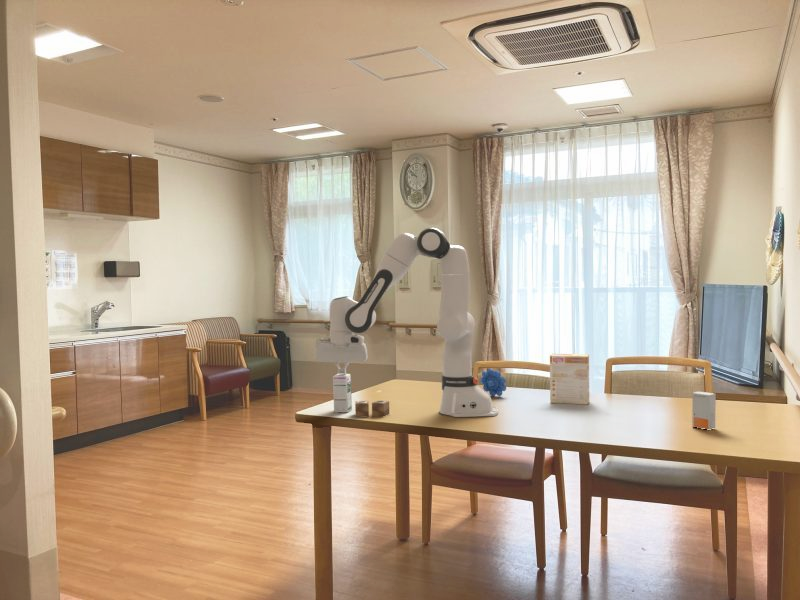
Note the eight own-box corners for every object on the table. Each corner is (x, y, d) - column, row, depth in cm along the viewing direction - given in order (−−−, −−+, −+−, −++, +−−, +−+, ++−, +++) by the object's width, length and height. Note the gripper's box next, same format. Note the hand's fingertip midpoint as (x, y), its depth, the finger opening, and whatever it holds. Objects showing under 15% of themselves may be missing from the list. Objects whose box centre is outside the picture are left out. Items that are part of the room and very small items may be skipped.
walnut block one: (368, 413, 250) (368, 400, 249) (368, 416, 245) (368, 402, 244) (355, 414, 249) (355, 400, 249) (355, 417, 244) (355, 403, 244)
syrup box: (348, 412, 252) (347, 375, 251) (333, 412, 253) (332, 375, 252) (352, 409, 257) (351, 373, 257) (337, 409, 258) (336, 373, 258)
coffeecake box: (589, 401, 266) (589, 354, 265) (588, 405, 259) (587, 356, 258) (552, 399, 271) (552, 353, 270) (549, 402, 265) (549, 355, 264)
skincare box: (691, 427, 219) (691, 392, 219) (698, 425, 222) (698, 391, 221) (709, 431, 214) (709, 395, 214) (716, 429, 217) (716, 393, 216)
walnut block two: (389, 414, 249) (389, 400, 248) (384, 416, 244) (384, 402, 244) (377, 413, 250) (377, 399, 250) (372, 416, 246) (371, 402, 246)
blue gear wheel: (477, 397, 279) (476, 369, 279) (482, 394, 285) (481, 367, 285) (503, 398, 274) (503, 370, 274) (507, 396, 280) (507, 368, 280)
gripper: (313, 339, 252) (314, 374, 253) (365, 338, 250) (366, 374, 250) (317, 337, 258) (318, 372, 259) (368, 337, 256) (368, 372, 256)
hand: (342, 373), depth 254 cm, fingers closed
